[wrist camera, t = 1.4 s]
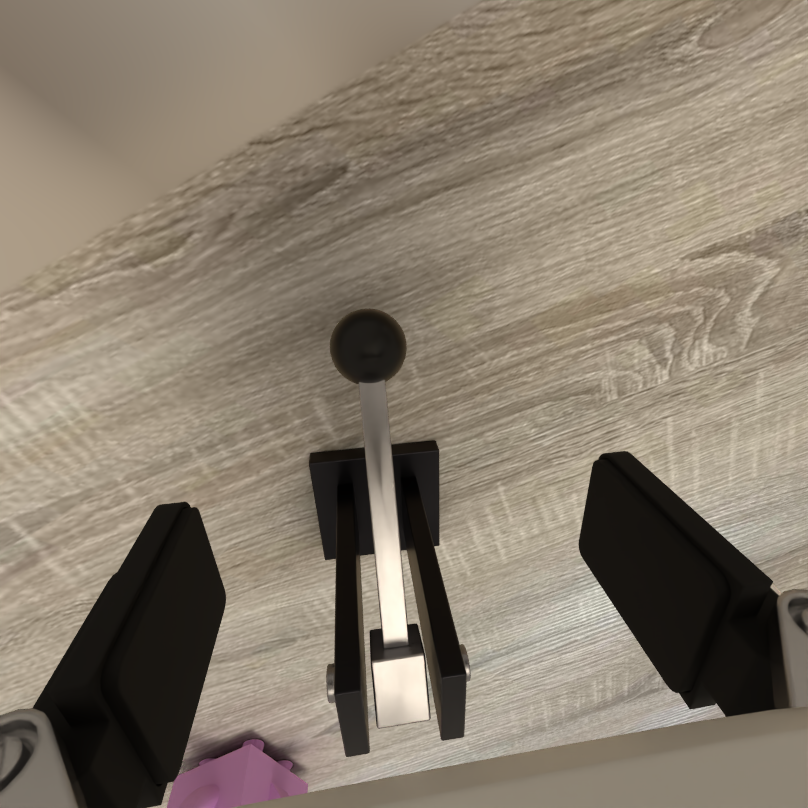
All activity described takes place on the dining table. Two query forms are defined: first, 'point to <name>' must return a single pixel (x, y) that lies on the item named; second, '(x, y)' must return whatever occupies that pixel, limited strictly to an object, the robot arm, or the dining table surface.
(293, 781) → the teapot
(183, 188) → the dining table surface
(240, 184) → the dining table surface
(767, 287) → the dining table surface
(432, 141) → the dining table surface
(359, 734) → the black lever stand
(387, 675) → the faucet lever
